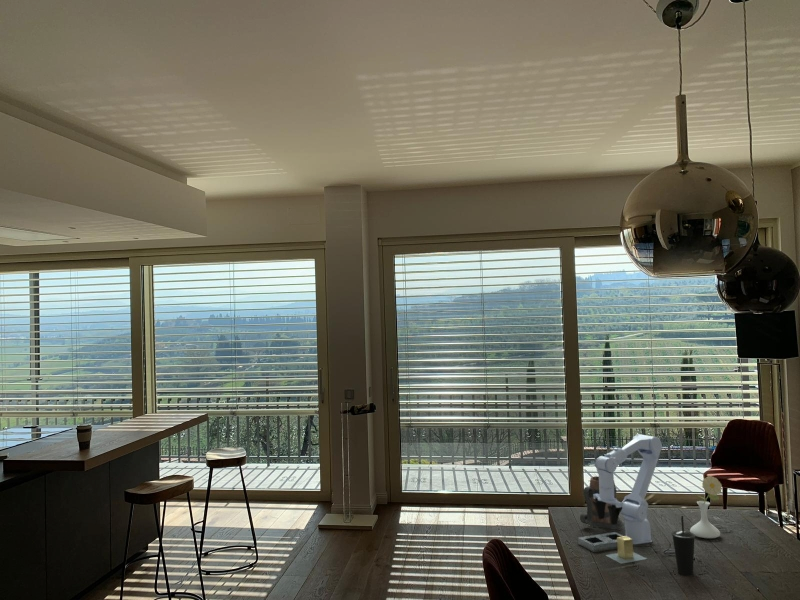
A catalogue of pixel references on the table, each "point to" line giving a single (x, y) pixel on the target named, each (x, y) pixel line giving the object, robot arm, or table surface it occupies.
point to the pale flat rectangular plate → (621, 560)
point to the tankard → (592, 513)
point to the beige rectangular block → (625, 547)
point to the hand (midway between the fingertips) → (607, 521)
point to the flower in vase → (704, 526)
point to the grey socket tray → (599, 541)
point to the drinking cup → (684, 550)
